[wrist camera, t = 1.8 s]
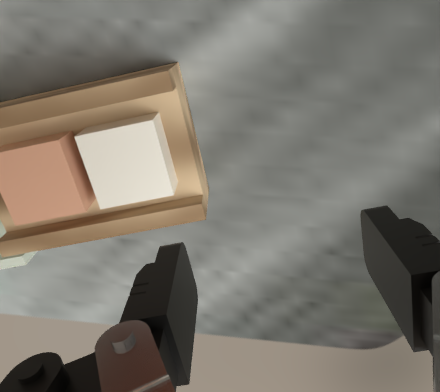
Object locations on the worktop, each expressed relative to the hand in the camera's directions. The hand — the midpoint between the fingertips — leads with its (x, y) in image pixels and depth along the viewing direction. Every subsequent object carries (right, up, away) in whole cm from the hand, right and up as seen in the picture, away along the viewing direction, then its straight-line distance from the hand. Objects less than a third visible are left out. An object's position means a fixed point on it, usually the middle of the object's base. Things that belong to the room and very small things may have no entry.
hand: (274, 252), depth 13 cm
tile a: (-8, +5, +15) cm, 17 cm away
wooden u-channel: (-11, +5, +19) cm, 23 cm away
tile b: (-13, +3, +16) cm, 21 cm away
